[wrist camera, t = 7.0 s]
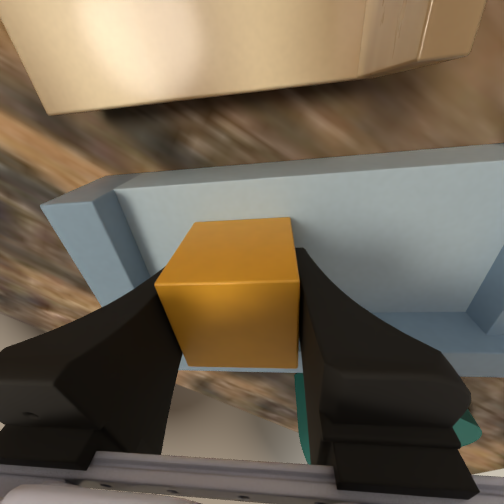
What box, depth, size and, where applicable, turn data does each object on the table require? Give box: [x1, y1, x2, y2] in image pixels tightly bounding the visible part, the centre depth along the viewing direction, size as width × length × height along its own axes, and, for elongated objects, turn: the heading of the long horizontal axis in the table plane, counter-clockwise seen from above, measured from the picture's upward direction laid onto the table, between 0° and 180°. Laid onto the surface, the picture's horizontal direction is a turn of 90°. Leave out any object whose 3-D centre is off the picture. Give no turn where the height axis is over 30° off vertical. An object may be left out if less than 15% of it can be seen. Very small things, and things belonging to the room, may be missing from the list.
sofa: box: [40, 143, 504, 377], centre depth 12 cm, size 22×10×6 cm, turn 95°
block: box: [154, 217, 300, 369], centre depth 10 cm, size 4×4×4 cm
